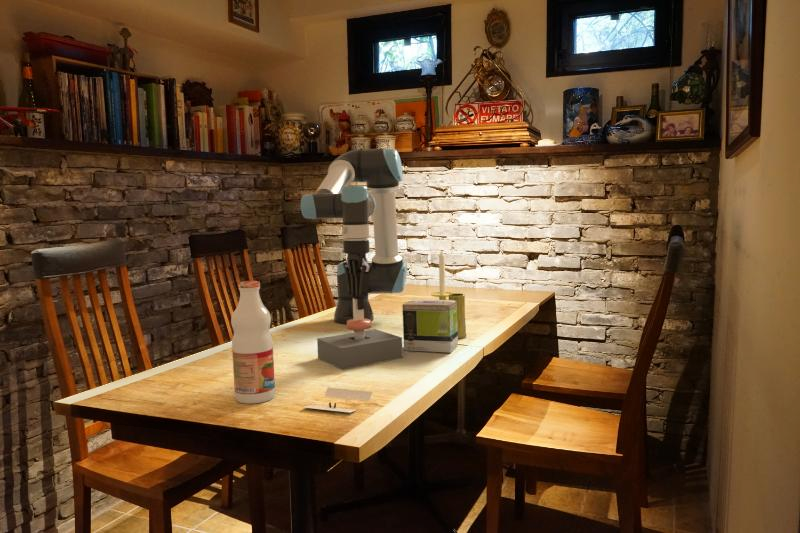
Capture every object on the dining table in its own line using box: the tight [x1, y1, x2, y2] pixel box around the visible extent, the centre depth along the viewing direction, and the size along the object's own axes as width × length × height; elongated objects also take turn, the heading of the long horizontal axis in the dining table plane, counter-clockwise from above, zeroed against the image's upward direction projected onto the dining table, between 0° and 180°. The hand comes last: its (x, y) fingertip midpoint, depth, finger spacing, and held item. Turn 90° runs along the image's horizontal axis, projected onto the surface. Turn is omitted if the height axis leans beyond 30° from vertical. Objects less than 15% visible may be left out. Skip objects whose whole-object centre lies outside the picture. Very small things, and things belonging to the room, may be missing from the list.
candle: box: [431, 249, 453, 300], centre depth 233 cm, size 10×10×27 cm
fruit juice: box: [230, 280, 276, 405], centre depth 145 cm, size 9×9×28 cm
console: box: [316, 328, 403, 371], centre depth 181 cm, size 15×20×6 cm
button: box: [346, 319, 372, 341], centre depth 180 cm, size 7×7×8 cm
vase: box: [448, 292, 467, 340], centre depth 204 cm, size 6×6×14 cm
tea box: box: [401, 299, 459, 354], centre depth 189 cm, size 15×10×15 cm, turn 71°
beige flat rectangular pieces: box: [303, 387, 373, 413], centre depth 141 cm, size 12×12×2 cm
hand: (358, 320), depth 180 cm, fingers closed
